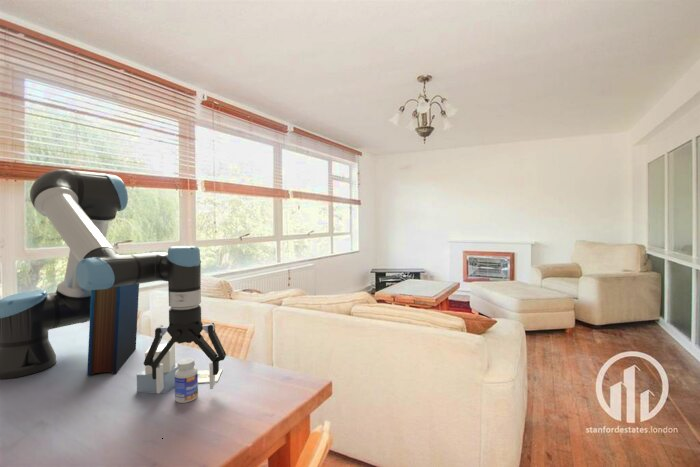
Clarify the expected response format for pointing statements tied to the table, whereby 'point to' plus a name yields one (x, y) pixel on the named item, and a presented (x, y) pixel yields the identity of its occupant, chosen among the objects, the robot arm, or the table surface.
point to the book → (112, 328)
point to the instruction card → (207, 376)
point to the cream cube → (167, 360)
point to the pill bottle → (186, 381)
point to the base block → (149, 384)
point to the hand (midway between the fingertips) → (186, 388)
